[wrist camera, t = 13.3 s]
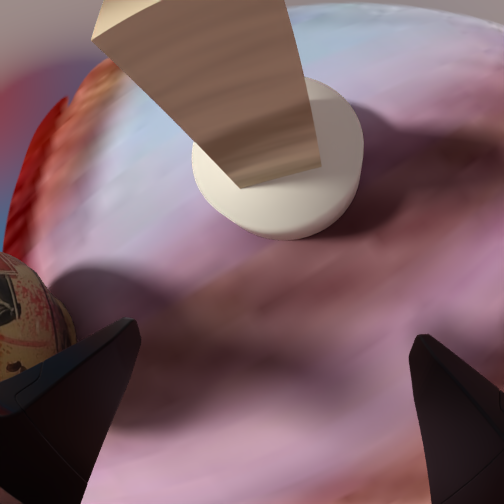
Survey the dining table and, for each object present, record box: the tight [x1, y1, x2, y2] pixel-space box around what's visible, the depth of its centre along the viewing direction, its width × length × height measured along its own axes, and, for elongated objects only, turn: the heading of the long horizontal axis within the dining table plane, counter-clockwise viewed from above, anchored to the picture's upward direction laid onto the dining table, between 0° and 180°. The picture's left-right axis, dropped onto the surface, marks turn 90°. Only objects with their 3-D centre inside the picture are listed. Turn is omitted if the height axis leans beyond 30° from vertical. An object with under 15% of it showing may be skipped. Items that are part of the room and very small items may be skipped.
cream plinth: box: [192, 77, 364, 240], centre depth 20 cm, size 11×11×4 cm
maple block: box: [91, 0, 322, 189], centre depth 12 cm, size 5×5×13 cm
